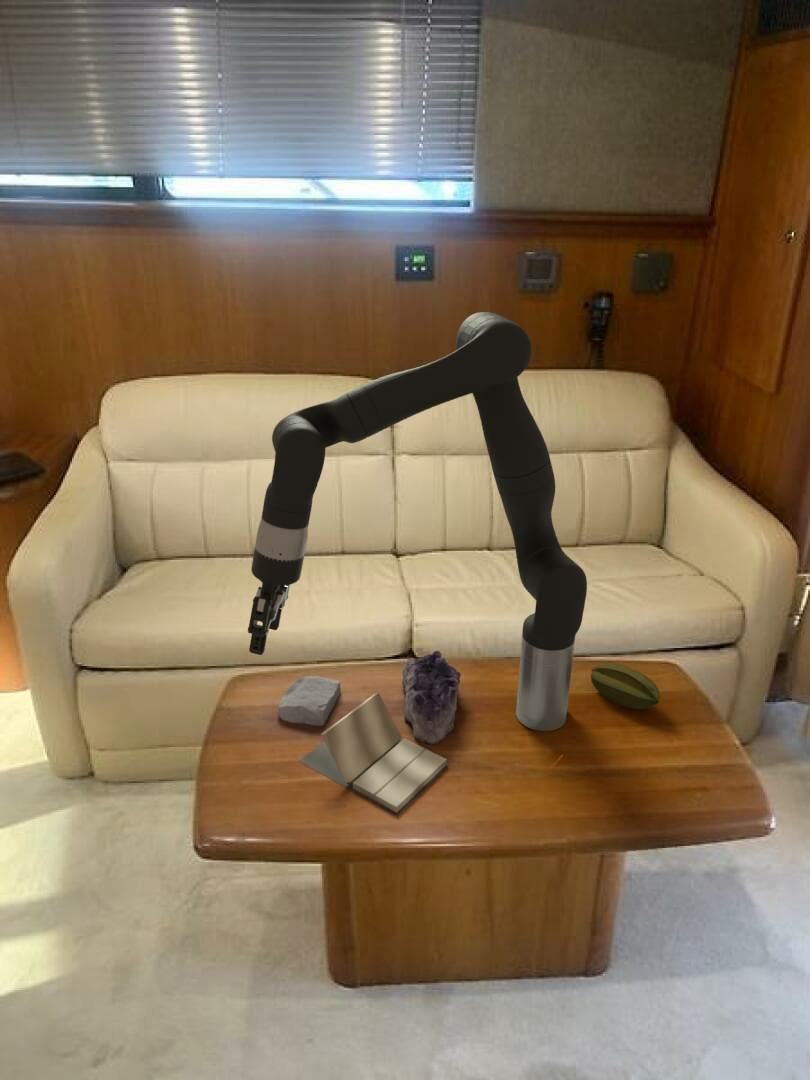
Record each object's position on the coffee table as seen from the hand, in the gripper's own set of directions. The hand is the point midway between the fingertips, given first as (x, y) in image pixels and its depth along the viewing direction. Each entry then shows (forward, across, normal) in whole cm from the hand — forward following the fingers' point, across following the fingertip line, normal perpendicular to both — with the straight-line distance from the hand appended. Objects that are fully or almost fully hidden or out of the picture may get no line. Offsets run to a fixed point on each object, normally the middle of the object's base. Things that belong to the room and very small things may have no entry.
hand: (264, 640), depth 125 cm
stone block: (+23, +18, -7) cm, 30 cm away
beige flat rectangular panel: (+16, +4, -18) cm, 25 cm away
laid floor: (+20, +3, -22) cm, 30 cm away
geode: (+18, +19, -30) cm, 40 cm away
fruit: (+10, +27, -65) cm, 71 cm away
